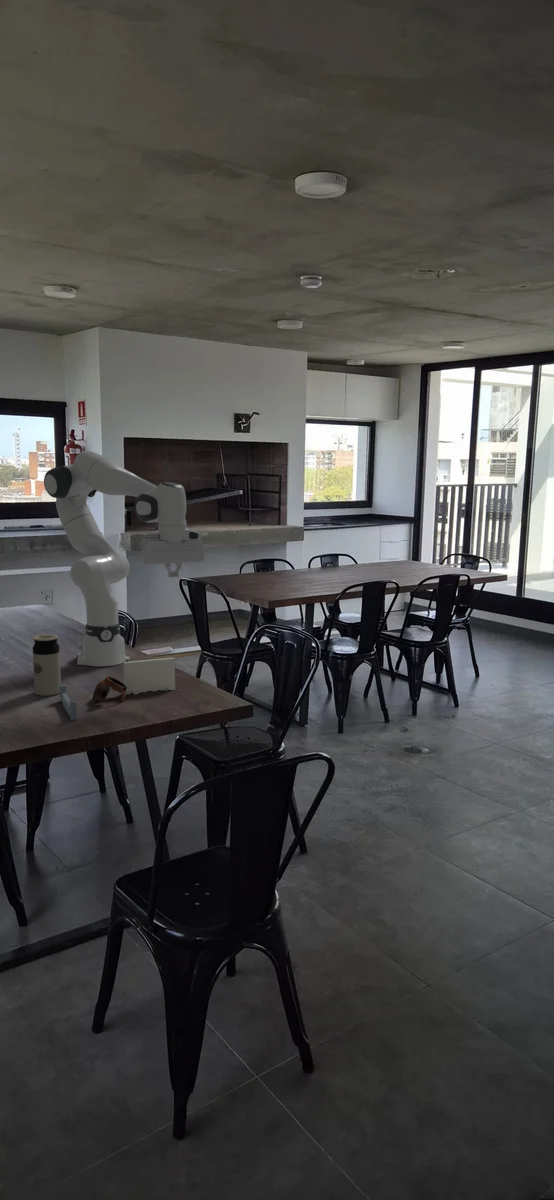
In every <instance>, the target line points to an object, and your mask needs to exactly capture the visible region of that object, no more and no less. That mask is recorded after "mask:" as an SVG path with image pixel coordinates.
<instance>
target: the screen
mask: <svg viewBox="0 0 554 1200" xmlns="http://www.w3.org/2000/svg"><path fill="white" fill-rule="evenodd" d="M175 663H176V661H175V657H174V656H173V657H164V658H153V659H151V658H150V659H142V660H128V661H124V662H123V684H124V685H125V686H126V687H127V689H126V690H125V691H126V695H139V693H141V692H143V693H148V692H147V691H152V692H158V690H161V691H168V690H171V691H175V690H176V669H175V667H176V666H175V665H176V664H175ZM131 693H133V694H131ZM141 694H142V693H141Z"/></svg>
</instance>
